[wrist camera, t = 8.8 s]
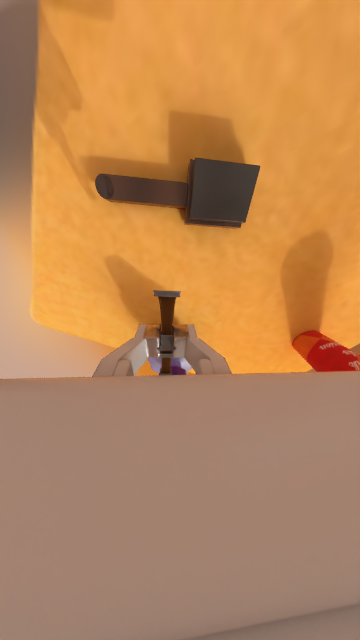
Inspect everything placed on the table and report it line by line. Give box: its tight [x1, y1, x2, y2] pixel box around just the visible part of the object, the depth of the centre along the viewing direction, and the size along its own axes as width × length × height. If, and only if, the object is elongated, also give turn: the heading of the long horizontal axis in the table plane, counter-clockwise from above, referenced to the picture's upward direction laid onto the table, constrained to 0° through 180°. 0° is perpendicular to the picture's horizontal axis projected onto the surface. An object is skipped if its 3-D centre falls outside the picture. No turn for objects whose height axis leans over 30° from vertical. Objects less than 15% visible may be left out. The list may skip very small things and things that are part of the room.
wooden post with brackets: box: [153, 290, 181, 375], centre depth 11 cm, size 2×8×4 cm, turn 176°
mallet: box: [95, 158, 260, 229], centre depth 14 cm, size 17×5×3 cm, turn 86°
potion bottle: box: [148, 326, 192, 375], centre depth 23 cm, size 9×9×12 cm
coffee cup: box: [293, 331, 360, 372], centre depth 25 cm, size 8×8×15 cm
